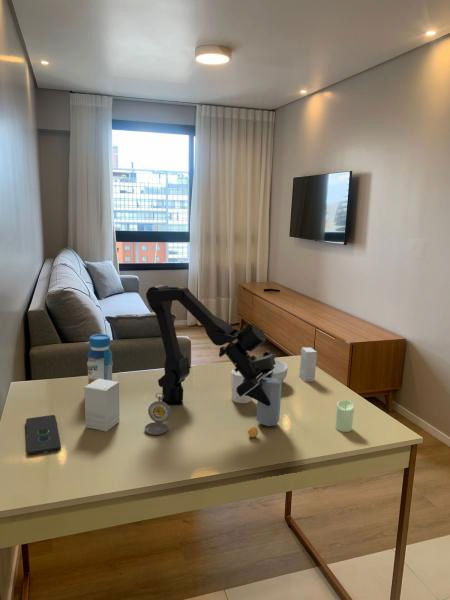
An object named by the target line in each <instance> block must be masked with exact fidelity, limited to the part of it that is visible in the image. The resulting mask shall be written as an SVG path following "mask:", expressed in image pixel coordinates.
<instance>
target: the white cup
mask: <svg viewBox="0 0 450 600" xmlns="http://www.w3.org/2000/svg"><path fill="white" fill-rule="evenodd" d="M234 369H235V368H233V369H232V370H231V380H230V381H231V400H232V401H233V402H234V403H237V404H248V403H250V402H251V401H252V399H253V398H251V397H249V396H245V394H246V393H247V392H246V393H245V394H244V395H242V396H241V397H240V396H239V395H238V393H237V392H236V390H237V387H238V386H239V385H240V384H241V383H243V380H244V378H243V376H242V375H241V374H240V372H239V371H237V372H236V371H235V370H234Z"/></svg>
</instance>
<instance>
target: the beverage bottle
mask: <svg viewBox="0 0 450 600" xmlns="http://www.w3.org/2000/svg"><path fill="white" fill-rule="evenodd" d="M110 346H111V336H110V335H108V334H103V333H97V334H91V336H90V335H89V347H90V349H89V350H88V353H87V359H88V360H87V363H86V367H87V385H89V384H90V383H92V382H94V381H95V380H97V379H104V380H109V381H113V365H114V364H113V363H114V361H113V359H112V358H113V353H112V351H111V349H110Z"/></svg>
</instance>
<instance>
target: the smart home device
mask: <svg viewBox="0 0 450 600" xmlns="http://www.w3.org/2000/svg"><path fill="white" fill-rule="evenodd" d="M25 434H26V435H25V436H26V443H27V445H26V447H27V449H26V450H27V455H28V457H31V456H32V457H34V456H38V455H45V454H49V453H56V452H60V451H61V449H62V448H61V447H62V445H61V438H60V435H59V428H58V422H57V418H56V415H55V414H50V415H44V416H35V417H28V418H26V419H25Z"/></svg>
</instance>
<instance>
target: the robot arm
mask: <svg viewBox="0 0 450 600" xmlns="http://www.w3.org/2000/svg"><path fill="white" fill-rule="evenodd" d="M145 297H146V301H147V303H148V306H149V308H150V309H151V310H152V311H153V312H154V313H155V316H156V321H157V324H158V328H159V332H160V333H159V334H160V336H161V337H160V338H161V341H162V345H163V349H164V354H165V360H164V366H163V369H164V375H162V376H161V377H160V378H159V379H158V380H157V383H158V386H159V387H160V388H162V389H161V393H162V394H163V395H164V398H163V395H162V394H161V396H160V397H161V398H162V399H161V401H162V402H165V403H166V404H167V405H168V406H174V405H175V406H176V405H182V404H183V402H182V401H184V387H183V386H182V382H184V381H185V380H186V378H187V377H188V376H189V375H190V373H191V368H192V367H191V365H190V359H189V357H188V356H184V355H183V354H182V352H181V350H180V345H179V340H178V337H177V333H176V327H175V323H174V319H173V316H172V306H173V305H172V304H173V301H178V302H179V303H180V304H181V305H182V307H184V308H185V309H186V310H187V311H188V312H189V313H190V315H191V316H193V317H194V318H195V320H197V321H198V323H200V324H201V325H202V327H203V328H204V331H205V333H206V335H207V337H208V338H209V340H210V341H211V342H212V343H213V344H214V345H215V346H220V347H219V353H218V356H219V358H221V357H223V356H224V355H226V356H227V358H228V359H229V361H230V362H231V363H232V365H234V367H235V368H233V369H234V370H235V371H236V372H237V371H239V372H240V374H241V375H242V376H243V378H244V380H243V383H241V384H240V385H239V386H238V387H237V390H236V392H237V393H238V395H239V396H240V397H241V396H242V395H244V394H245V393H246V392H247V393H246V394H245V396H249V397H251V398H252V399H253V400H255V401H257V402H258V401H259V402H261V403H263V404H265V405H267V406H270V405H271V403H270V401H269V399H268V398H267V396H266V394H265V393H264V391H263V390H262V382H260V379H262V378H272V374H273V371H272V372H271V373H269V372H270V371H271V370H273V369H274V368H275V367H274V365H276V363H275V360H276V355H274V353H272V352H271V351H270V350H266V351H264V352H263V354H262V356H261V357H256V355H250V353H249V352H254V351H255V349H257V348H258V347H259V346H260V345H262V344H263V343H264V342H266V341H267V337H266V334H265V332H264V331H263V330H262V329H260V327H258V326H257V325H254V324H253V322H251V323H249V324H248V325H246V327H245V328H244V329H243V330H240V329H237V328H235V327H233V326H232V325H231V324H229V323H228V322H227V321H225V320H224V319H222V318H219V317H217V316H216V315H214V314H213V313H212V312H211V311H210V310H209V309H208V308H207V307H206V306H205V305H204V304H203V303H202V302H201V301H200V300H199V299H198V298H197V296H195V295H194V294H193V293H192V292H191V290H190V289H189V288H188V287H185V286H181V287H180V286H179V287H178V286H170V287H169V285H166V284H159V285H154V286H151V287H149V288H148V289H147V292H146V293H145ZM236 340H237V341H236ZM234 341H236V342H234ZM226 344H227V345H226ZM224 345H226V346H224ZM258 380H259V382H260V383H259V382H258Z"/></svg>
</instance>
